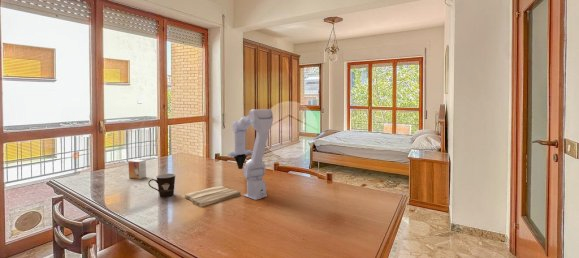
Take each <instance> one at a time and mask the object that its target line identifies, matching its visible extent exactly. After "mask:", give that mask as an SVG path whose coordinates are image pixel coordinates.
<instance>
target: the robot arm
mask: <svg viewBox="0 0 579 258" xmlns="http://www.w3.org/2000/svg"><path fill="white" fill-rule="evenodd" d="M273 121H274V114H273V111H272V110H271V108H264V109H260V108H259V109H250V110H249V111H248V115H247V116H246V115H243V116H242V117H241V118H239V119H238V120H236V121H235V120H234V121H232V127H231V128H232V132H233V138H234V142H233V143H234V151H232V152H228V153H227V157H228V158H232V157H233V158H234V159H235V162H236V165H237V168H238V169H239V170H242V174H243V177H244V178H245V180H246V193H244V194H243V196H244V197H246V198H249V199H251V200H253V201H257V200H259V199H260V200H261V199H262V198H266V197H268V194H267V182H266V181H265V180H263V179H264V176H265V174H266V163H265V161H264V160H263V157H264V154H265V150H266V145H267V141H268V137H269V133H270V130H271V129H272V126H273ZM251 126H252V129H253V130H254V131H256V136H255V141H254V143H253V144H254V145H253V148H252V149H247V150H246V135H247V131H248V128H249V127H251ZM248 155H251V158H250V159H249V160H247V161H246V159H247V156H248ZM245 161H246V162H245Z"/></svg>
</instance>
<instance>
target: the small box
mask: <svg viewBox="0 0 579 258" xmlns="http://www.w3.org/2000/svg"><path fill="white" fill-rule="evenodd" d="M146 164H147V162H146V160H144V159H133V160H128V178H129V179H136V180H141V179H144V178H146V177H147V165H146Z"/></svg>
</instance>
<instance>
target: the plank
mask: <svg viewBox="0 0 579 258" xmlns="http://www.w3.org/2000/svg"><path fill="white" fill-rule="evenodd" d="M227 190H230V189H229V188H228V187H226V186H223V185H216V186H212V187H209V188H205V189H201V190H196V191H192V192H189V193H185V194H184V198H185V199H187V200H189V201H191V202H193V200H194V199H198V198H201V197H205V196H208V195H212V194H216V193H219V192H223V191H227Z"/></svg>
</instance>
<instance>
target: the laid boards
mask: <svg viewBox="0 0 579 258" xmlns="http://www.w3.org/2000/svg"><path fill="white" fill-rule="evenodd" d="M241 195H242V194H241V191H239V190H236V189H233V188H231V189H229V190H227V191H223V192H219V193H216V194H212V195H208V196H205V197H201V198H198V199H194V200H193V201H192V204H194V205H195V206H198V207H200V208H202V207H205V206H209V205H212V204H215V203H218V202H219V203H220V202H222V201H225V200H228V199H229V200H230V199H232V198H235V197H239V196H241Z"/></svg>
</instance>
